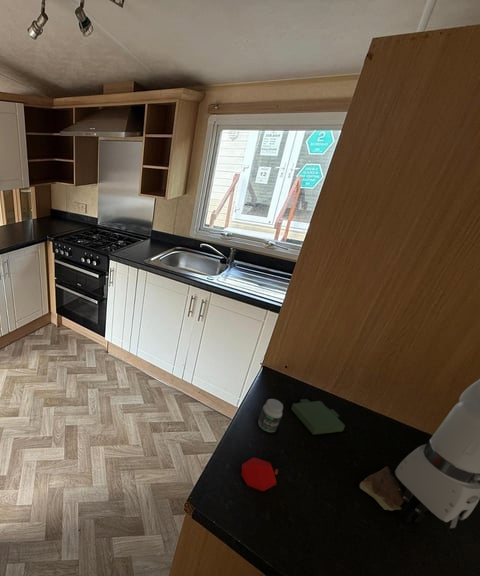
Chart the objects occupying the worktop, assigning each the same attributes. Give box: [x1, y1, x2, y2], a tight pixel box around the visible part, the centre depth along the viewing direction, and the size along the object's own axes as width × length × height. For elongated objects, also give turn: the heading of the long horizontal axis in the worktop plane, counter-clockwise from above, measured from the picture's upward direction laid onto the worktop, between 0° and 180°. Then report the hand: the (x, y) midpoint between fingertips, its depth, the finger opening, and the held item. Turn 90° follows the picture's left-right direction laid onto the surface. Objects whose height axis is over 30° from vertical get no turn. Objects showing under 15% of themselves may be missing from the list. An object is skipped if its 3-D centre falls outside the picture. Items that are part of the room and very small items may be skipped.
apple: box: [240, 457, 279, 492], centre depth 72 cm, size 7×7×8 cm
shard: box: [359, 465, 404, 512], centre depth 71 cm, size 11×8×2 cm
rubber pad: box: [290, 398, 346, 435], centre depth 90 cm, size 10×10×2 cm
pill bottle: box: [258, 398, 284, 433], centre depth 86 cm, size 5×5×8 cm
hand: (407, 516), depth 66 cm, fingers closed
